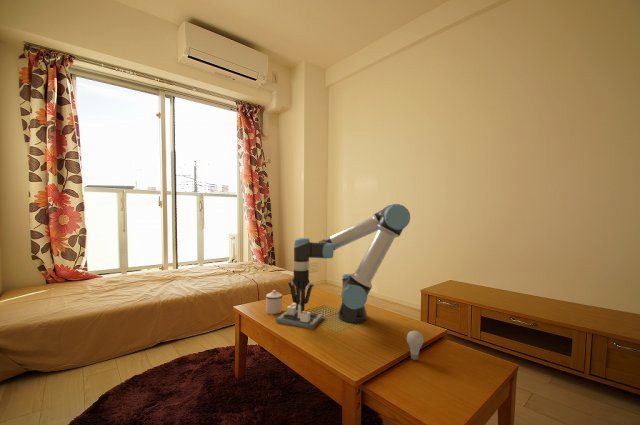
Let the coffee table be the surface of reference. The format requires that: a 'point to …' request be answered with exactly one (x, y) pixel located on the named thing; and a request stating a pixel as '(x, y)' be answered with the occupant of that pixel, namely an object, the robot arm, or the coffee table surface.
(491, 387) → the coffee table surface
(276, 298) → the teacup with lid
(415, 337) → the lightbulb
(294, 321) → the panel
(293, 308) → the breaker
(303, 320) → the breaker
